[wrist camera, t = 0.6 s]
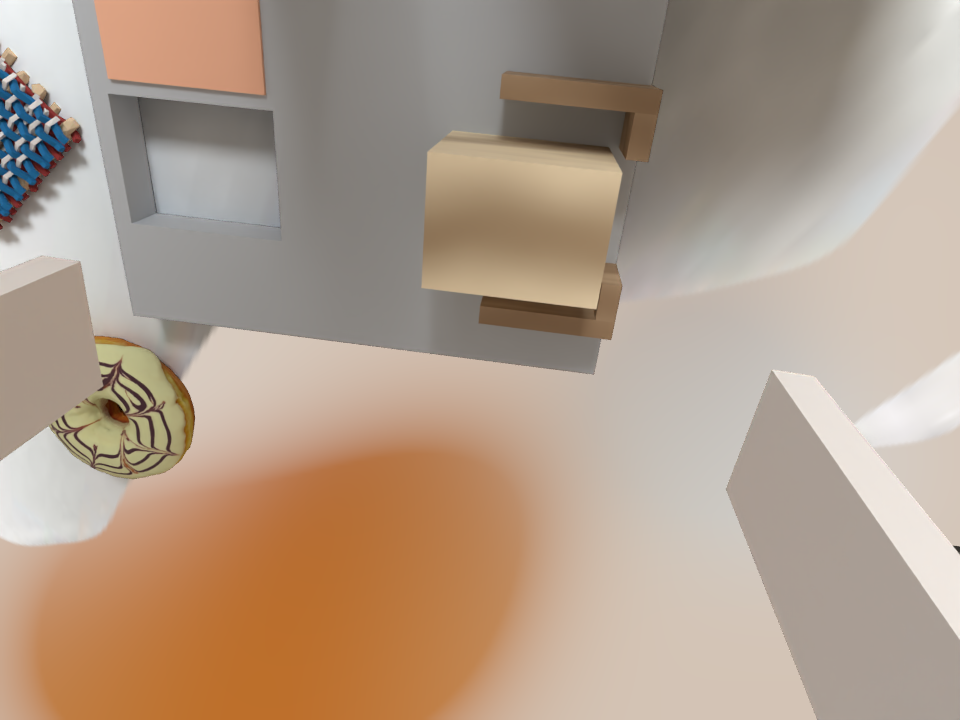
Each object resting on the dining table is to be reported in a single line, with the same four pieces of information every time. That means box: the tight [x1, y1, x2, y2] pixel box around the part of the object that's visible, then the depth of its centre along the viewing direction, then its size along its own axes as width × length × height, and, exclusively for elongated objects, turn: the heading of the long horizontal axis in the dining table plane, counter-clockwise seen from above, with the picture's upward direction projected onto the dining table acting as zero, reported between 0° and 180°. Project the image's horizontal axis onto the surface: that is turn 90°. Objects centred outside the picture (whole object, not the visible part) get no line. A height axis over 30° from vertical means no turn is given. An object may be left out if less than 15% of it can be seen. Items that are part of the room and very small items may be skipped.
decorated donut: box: [49, 336, 195, 479], centre depth 43 cm, size 10×11×4 cm
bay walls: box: [478, 71, 663, 340], centre depth 31 cm, size 12×7×4 cm, turn 175°
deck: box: [72, 0, 669, 374], centre depth 34 cm, size 22×29×3 cm
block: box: [421, 131, 622, 309], centre depth 29 cm, size 6×8×7 cm
